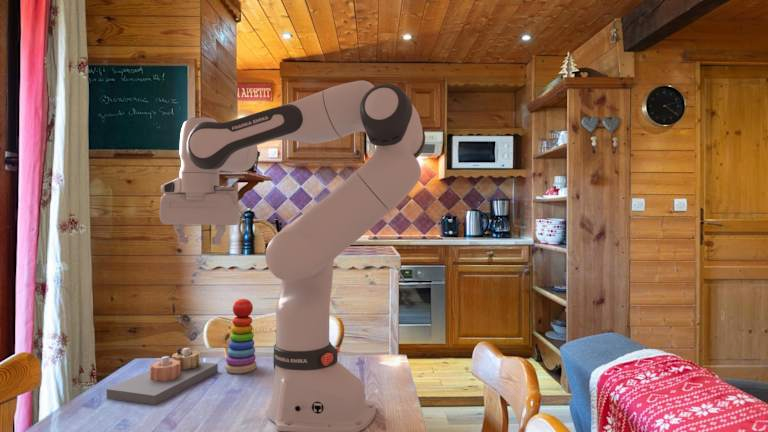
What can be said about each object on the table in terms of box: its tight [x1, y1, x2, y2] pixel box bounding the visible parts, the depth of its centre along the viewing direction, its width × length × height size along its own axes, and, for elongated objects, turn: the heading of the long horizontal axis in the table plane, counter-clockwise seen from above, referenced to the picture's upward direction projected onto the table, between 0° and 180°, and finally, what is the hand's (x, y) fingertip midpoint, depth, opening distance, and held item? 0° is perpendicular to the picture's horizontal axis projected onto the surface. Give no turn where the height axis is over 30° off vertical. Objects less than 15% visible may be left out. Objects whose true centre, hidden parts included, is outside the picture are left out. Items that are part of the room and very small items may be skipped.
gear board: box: [106, 347, 219, 406], centre depth 112 cm, size 13×22×6 cm, turn 164°
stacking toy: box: [224, 298, 258, 375], centre depth 122 cm, size 8×8×19 cm
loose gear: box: [149, 359, 181, 381], centre depth 111 cm, size 7×7×3 cm
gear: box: [171, 347, 201, 370], centre depth 119 cm, size 7×7×4 cm
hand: (199, 244), depth 110 cm, fingers open, 8 cm apart
